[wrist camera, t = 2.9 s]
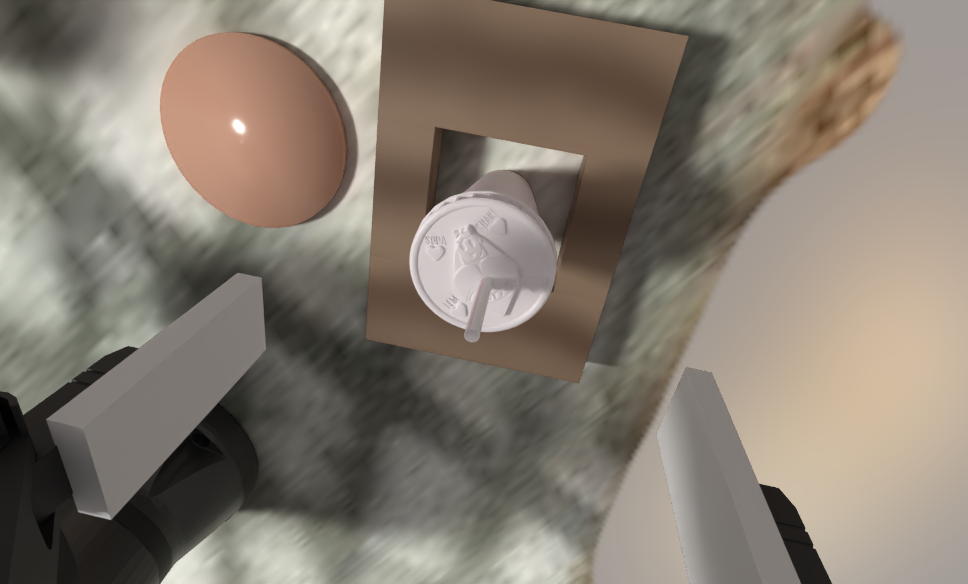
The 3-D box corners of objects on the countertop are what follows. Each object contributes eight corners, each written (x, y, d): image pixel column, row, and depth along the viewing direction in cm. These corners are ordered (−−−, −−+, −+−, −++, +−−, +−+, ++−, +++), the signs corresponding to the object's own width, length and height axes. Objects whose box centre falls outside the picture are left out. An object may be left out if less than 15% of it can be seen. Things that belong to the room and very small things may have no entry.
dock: (577, 360, 35) (579, 383, 32) (377, 319, 35) (365, 339, 33) (677, 35, 25) (688, 36, 23) (400, -15, 26) (385, -19, 23)
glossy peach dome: (344, 239, 33) (340, 242, 32) (179, 206, 33) (173, 209, 32) (349, 52, 27) (345, 52, 27) (153, 15, 28) (146, 15, 27)
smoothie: (477, 265, 32) (428, 413, 20) (430, 172, 30) (341, 276, 18) (573, 228, 30) (584, 367, 18) (531, 126, 28) (511, 206, 16)
